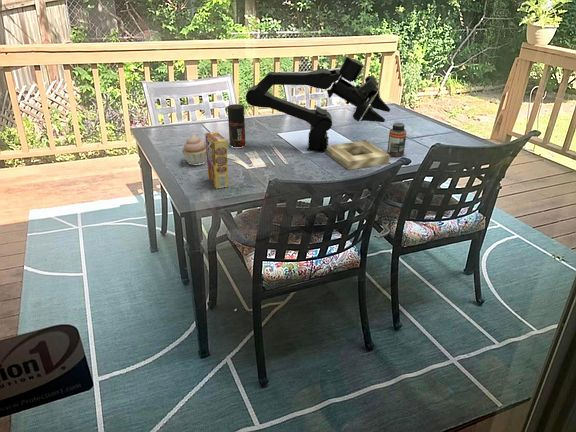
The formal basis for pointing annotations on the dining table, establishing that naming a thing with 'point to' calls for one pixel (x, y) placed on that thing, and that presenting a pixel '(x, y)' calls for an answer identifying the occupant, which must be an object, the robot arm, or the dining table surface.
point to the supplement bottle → (397, 140)
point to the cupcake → (195, 150)
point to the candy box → (217, 159)
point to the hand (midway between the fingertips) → (387, 115)
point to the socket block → (367, 159)
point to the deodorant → (236, 125)
